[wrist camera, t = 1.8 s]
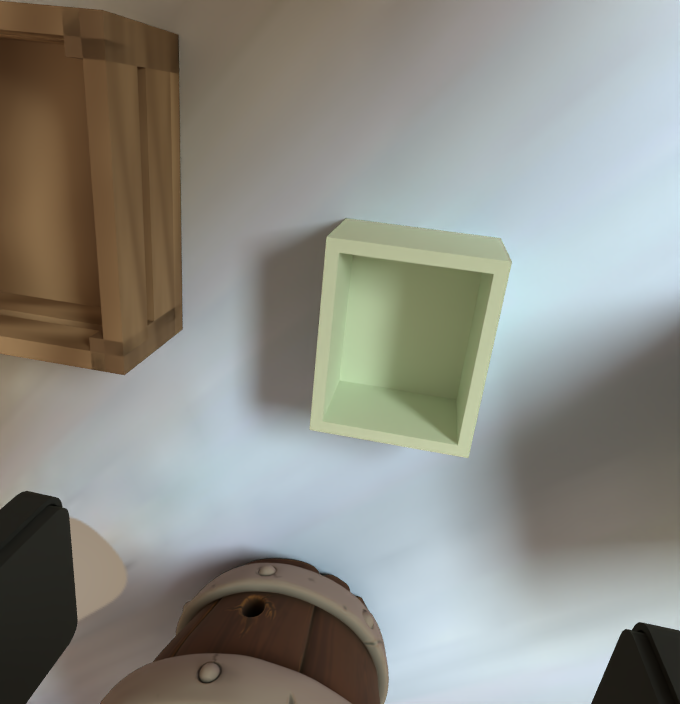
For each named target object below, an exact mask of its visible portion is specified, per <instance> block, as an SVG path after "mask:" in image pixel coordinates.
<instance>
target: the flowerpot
mask: <svg viewBox="0 0 680 704" xmlns="http://www.w3.org/2000/svg"><path fill="white" fill-rule="evenodd" d="M388 682H389V676H388V665H387V659H386V653H385V647H384V642H383V638H382V635H381V632H380V629H379V627H378V624H377V622H376V620H375V619H374V617H373V615H372V614H371V613H370V612H369V610H368V609H367V607H366V605H365V603H364V601H363V599H362V598H361V597H358V596H354V595H353V594H352V593H351V592H350V589H349V586H348V585H347V584H346V583H345V582H343V581H342V580H340V579H339V578H337V577H335V576H333V575H324V576H322V575H320V573H319V571H318V570H317V569H316V568H315V567H314V566H312V565H310V564H308V563H305V562H301V561H297V560H290V559H262V560H256V561H253V562H249V563H247V564H245V565H244V566H241V567H237V568H234V569H232V570H229V571H227V572H225V573H223V574H221V575H220V576H218V577H217V578H215V579H214V580H212V581H211V582H210V583H209V584H207V585H206V586H205V587H204V588H203V589H202V590H201V591H200V592H199V593H198V594H197V595H196V596H195V597H194V598H193V599H192V600H191V601H189V602H187V603H186V604H185V605H184V607H183V613H182V615H181V617H180V619H179V622H178V625H177V629H176V637H175V638H174V639H173V640H172V641H171V642H170V643H169V644H168V645H167V646H166V647H165V649H164V650H163V651H162V652H161V653H160V654H159V655H158V656H157V658H156V659H155V660H154V661H153V663H150V664H147V665H145V666H143V667H141V668H139V669H137V670H135V671H134V672H132V673H130V674H129V675H128V676H126V677H125V678H124V679H122V680H121V681H120V682H119V683H118V684H117V685H116V686H115V687H113V688H112V690H111V691H110V692H109V693H108V694H107V695H106V696H105V698H104V699H103V700H102V701H101V703H100V704H384V702H385V700H386V696H387V691H388Z"/></svg>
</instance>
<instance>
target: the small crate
mask: <svg viewBox="0 0 680 704" xmlns="http://www.w3.org/2000/svg"><path fill="white" fill-rule="evenodd" d="M511 263H512V261H511V259H510V257H509V255H508V253H507V250H506V248H505V246H504V244H503V242H502V240H501V238H495V237H487V236H479V235H472V234H464V233H456V232H449V231H441V230H433V229H425V228H418V227H410V226H402V225H394V224H387V223H379V222H371V221H364V220H356V219H348V218H346V219H345V220H344V221H343V222H342V223H341V224H340V225H339V226H338V227H336V228H335V229H334V230H333V231H332V232H331V233H330V234H329V235H328V236H327V237H326V248H325V259H324V271H323V282H322V294H321V305H320V316H319V328H318V339H317V351H316V362H315V373H314V385H313V396H312V408H311V419H310V430H313V431H319V432H325V433H330V434H336V435H341V436H347V437H353V438H358V439H364V440H370V441H375V442H381V443H386V444H392V445H398V446H403V447H409V448H414V449H420V450H426V451H431V452H437V453H442V454H448V455H454V456H459V457H465V458H468V457H469V452H470V448H471V443H472V439H473V434H474V430H475V425H476V421H477V416H478V412H479V407H480V403H481V398H482V394H483V389H484V385H485V380H486V376H487V371H488V367H489V362H490V358H491V353H492V349H493V344H494V340H495V335H496V331H497V326H498V322H499V317H500V313H501V308H502V304H503V299H504V295H505V290H506V286H507V281H508V277H509V272H510V268H511Z"/></svg>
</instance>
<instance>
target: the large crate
mask: <svg viewBox="0 0 680 704" xmlns="http://www.w3.org/2000/svg"><path fill="white" fill-rule="evenodd" d="M182 329H183V327H182V255H181V183H180V111H179V39H178V34H175V33H171V32H168V31H165V30H162V29H159V28H156V27H153V26H150V25H147V24H144V23H141V22H138V21H135V20H131V19H128V18H125V17H122V16H119V15H116V14H113V13H110V12H107V11H104V10H95V9H84V8H73V7H62V6H51V5H40V4H28V3H17V2H6V1H0V354H6V355H12V356H17V357H23V358H29V359H35V360H41V361H46V362H52V363H58V364H64V365H69V366H75V367H81V368H87V369H92V370H98V371H104V372H110V373H116V374H121V375H125V374H126V373H128V372H129V371H130V370H132V369H133V368H134V367H135V366H137V365H138V364H139V363H140V362H142V361H143V360H144V359H146V358H147V357H148V356H149V355H151V354H152V353H153V352H154V351H156V350H157V349H158V348H159V347H161V346H162V345H163V344H165V343H166V342H167V341H168V340H170V339H171V338H172V337H173V336H175V335H176V334H177V333H179V332H180V331H181V330H182Z"/></svg>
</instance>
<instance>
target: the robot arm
mask: <svg viewBox="0 0 680 704" xmlns="http://www.w3.org/2000/svg"><path fill="white" fill-rule="evenodd" d="M76 627H77V608H76V596H75V583H74V571H73V558H72V546H71V534H70V521H69V513H68V510H67V509H66V508H62V503H61V501H60V499H59V498H56V497H52V496H48V495H43V494H38V493H34V492H29V491H25V492H21V493H20V494H18V495H17V496H15V497H14V498H13V499H12V500H11V501H10V502H9V503H7V504H6V505H5V506H4V507H3V508H2V509H0V704H26V703H27V701H28V700H29V699H30V697H31V696H32V694H33V693H34V692H35V690H36V689H37V688H38V686H39V685H40V683H41V682H42V681H43V679H44V678H45V677H46V675H47V674H48V672H49V671H50V670H51V668H52V667H53V665H54V664H55V663H56V661H57V660H58V659H59V657H60V656H61V654H62V653H63V652H64V650H65V649H66V647H67V646H68V645H69V643H70V642H71V640H72V638H73V636H74V633H75V630H76ZM591 704H680V631H679V630H675V629H670V628H665V627H660V626H656V625H651V624H646V623H641V622H639V623H637V624H636V625H635V626H634V628H633V629H632V630H627V629H625V630H624V631H622V633H621V635H620V637H619V640H618V642H617V644H616V647H615V649H614V651H613V654H612V656H611V658H610V661H609V663H608V665H607V668H606V670H605V672H604V675H603V677H602V680H601V682H600V684H599V687H598V689H597V691H596V694H595V696H594V698H593V701H592V703H591Z"/></svg>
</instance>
